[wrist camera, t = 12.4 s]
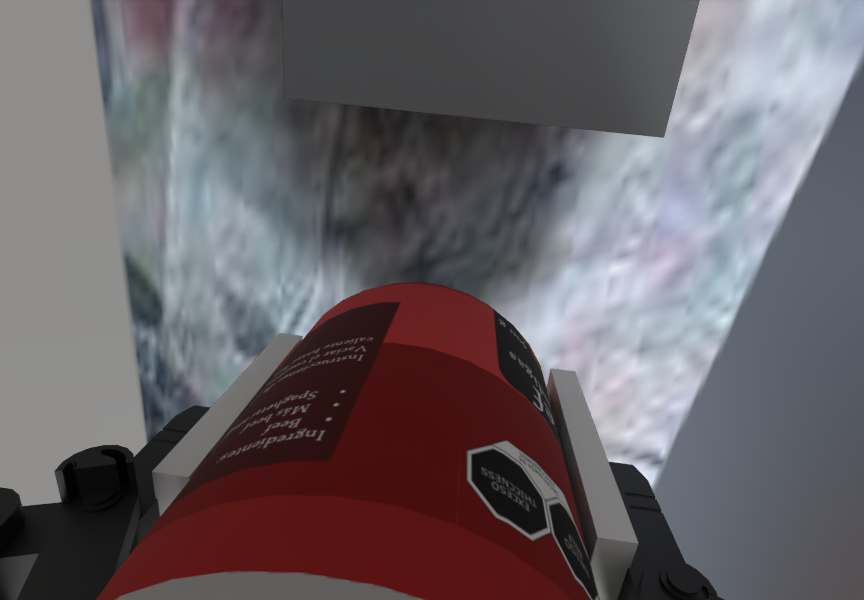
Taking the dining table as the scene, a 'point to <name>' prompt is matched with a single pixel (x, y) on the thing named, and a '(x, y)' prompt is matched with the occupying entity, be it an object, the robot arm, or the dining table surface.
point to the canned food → (380, 471)
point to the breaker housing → (494, 58)
